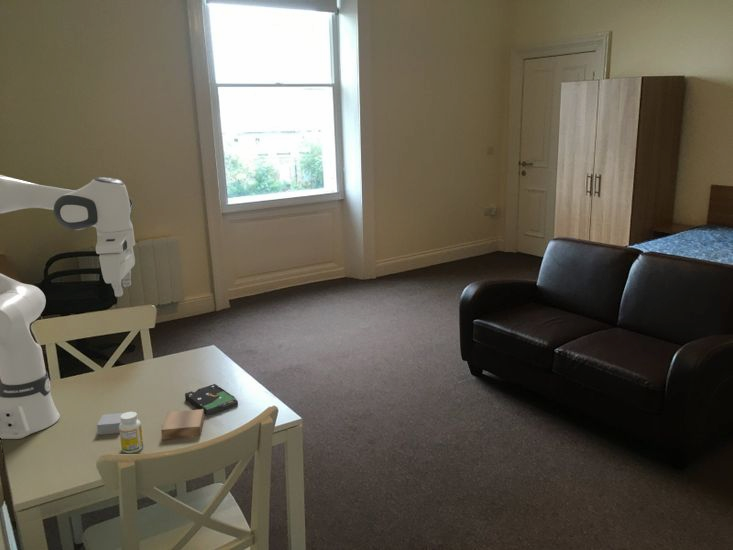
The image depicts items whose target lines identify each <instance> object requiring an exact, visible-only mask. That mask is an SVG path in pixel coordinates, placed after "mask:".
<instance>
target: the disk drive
mask: <svg viewBox="0 0 733 550" xmlns="http://www.w3.org/2000/svg"><path fill="white" fill-rule="evenodd" d="M184 398H185V401H186V402H187V403H188V404H190V405H192V406H193V407H194V408H195V409H196V410H200V409H204V416H205V417H210V416H213V415H216V414H218V413H222V412H224V411H228V410H230V409H232V408H235V407H238V406H239V401H238V400H237V397H235V396H234V395H233V394H230V393H229V392H227V391H226V390H225V389H223V388H222V387H220V386H219V385H218V384H216V383H213V384H209V385H207V386H204V387H200V388H198V389H196V390H195V391H192V390H191V391H188V392H186V393H184Z"/></svg>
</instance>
